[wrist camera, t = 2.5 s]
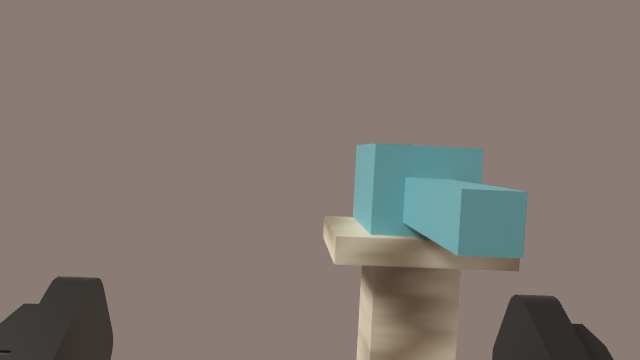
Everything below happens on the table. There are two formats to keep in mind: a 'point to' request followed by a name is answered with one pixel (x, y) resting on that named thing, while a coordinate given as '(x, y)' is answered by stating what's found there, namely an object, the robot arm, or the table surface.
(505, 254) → the mallet
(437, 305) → the marble column
